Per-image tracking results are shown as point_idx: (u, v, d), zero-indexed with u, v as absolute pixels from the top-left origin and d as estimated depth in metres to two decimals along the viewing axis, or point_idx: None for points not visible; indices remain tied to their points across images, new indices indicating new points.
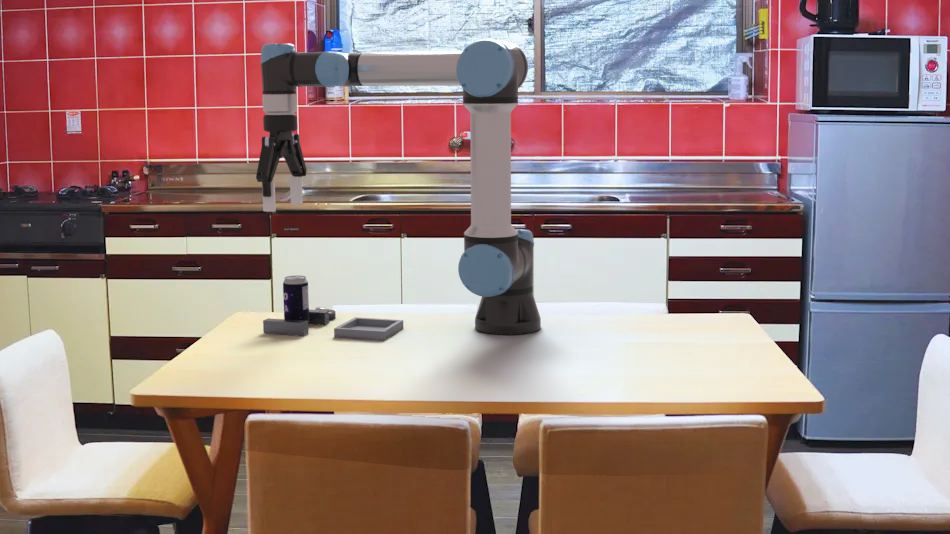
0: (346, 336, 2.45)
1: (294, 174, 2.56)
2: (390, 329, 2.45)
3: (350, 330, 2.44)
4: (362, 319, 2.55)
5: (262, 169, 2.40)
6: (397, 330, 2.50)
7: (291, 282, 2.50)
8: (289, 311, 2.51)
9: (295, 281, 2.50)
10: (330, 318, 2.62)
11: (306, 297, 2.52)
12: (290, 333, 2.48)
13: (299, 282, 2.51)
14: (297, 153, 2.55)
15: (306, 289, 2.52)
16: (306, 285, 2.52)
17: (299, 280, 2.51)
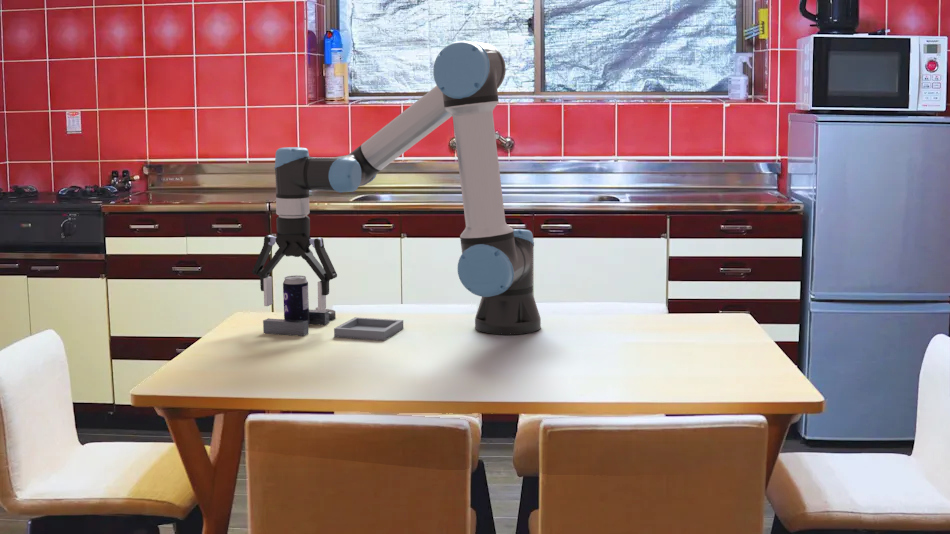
0: (346, 336, 2.45)
1: None
2: (390, 329, 2.45)
3: (350, 330, 2.44)
4: (362, 319, 2.55)
5: None
6: (397, 330, 2.50)
7: (291, 282, 2.50)
8: (289, 311, 2.51)
9: (295, 281, 2.50)
10: (330, 318, 2.62)
11: (306, 297, 2.52)
12: (290, 333, 2.48)
13: (299, 282, 2.51)
14: None
15: (306, 289, 2.52)
16: (306, 285, 2.52)
17: (299, 280, 2.51)
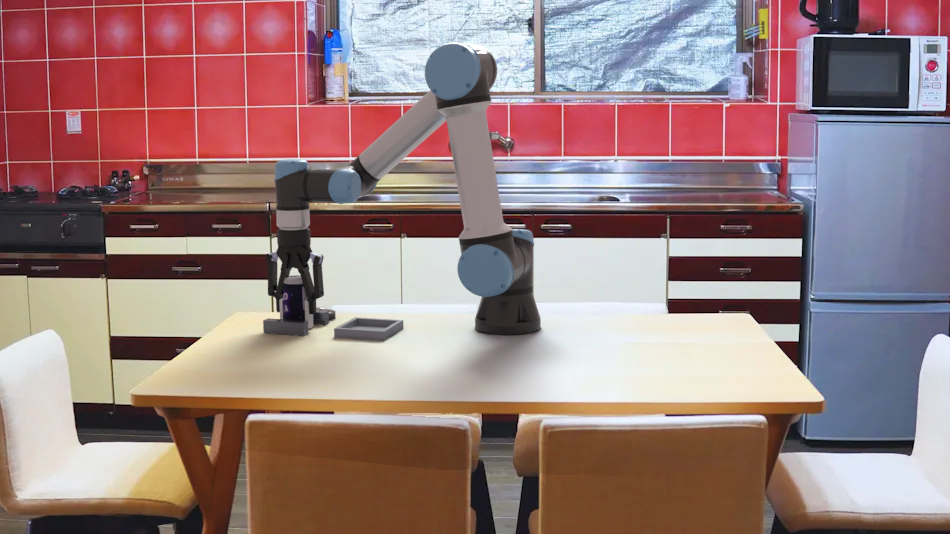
0: (346, 336, 2.45)
1: None
2: (390, 329, 2.45)
3: (350, 330, 2.44)
4: (362, 319, 2.55)
5: None
6: (397, 330, 2.50)
7: (291, 282, 2.50)
8: (289, 311, 2.51)
9: (295, 281, 2.50)
10: (330, 318, 2.62)
11: (306, 297, 2.52)
12: (290, 333, 2.48)
13: (299, 282, 2.51)
14: None
15: None
16: None
17: (299, 280, 2.51)
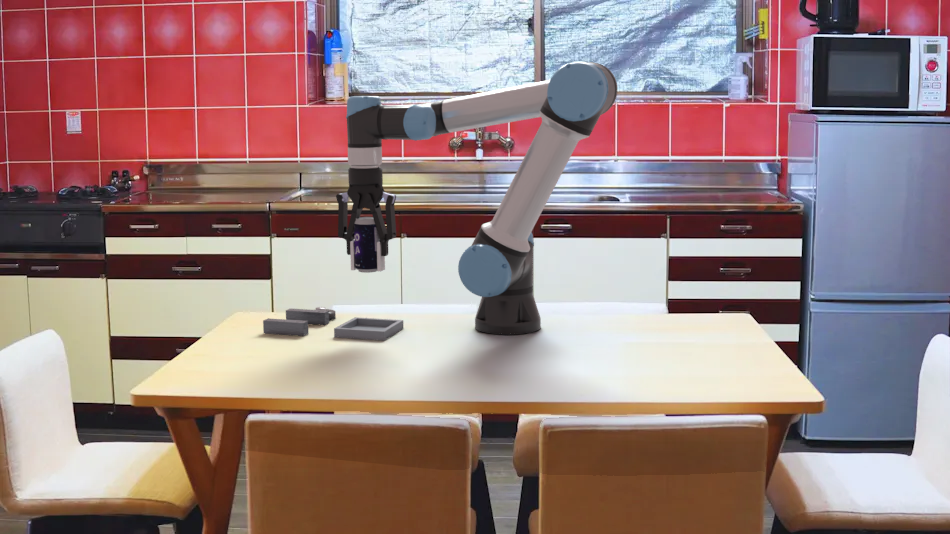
0: (346, 336, 2.45)
1: None
2: (390, 329, 2.45)
3: (350, 330, 2.44)
4: (362, 319, 2.55)
5: None
6: (397, 330, 2.50)
7: (363, 222, 2.43)
8: (361, 252, 2.44)
9: (367, 221, 2.43)
10: (330, 318, 2.62)
11: (378, 238, 2.45)
12: (290, 333, 2.48)
13: (371, 222, 2.43)
14: None
15: None
16: None
17: (371, 220, 2.43)
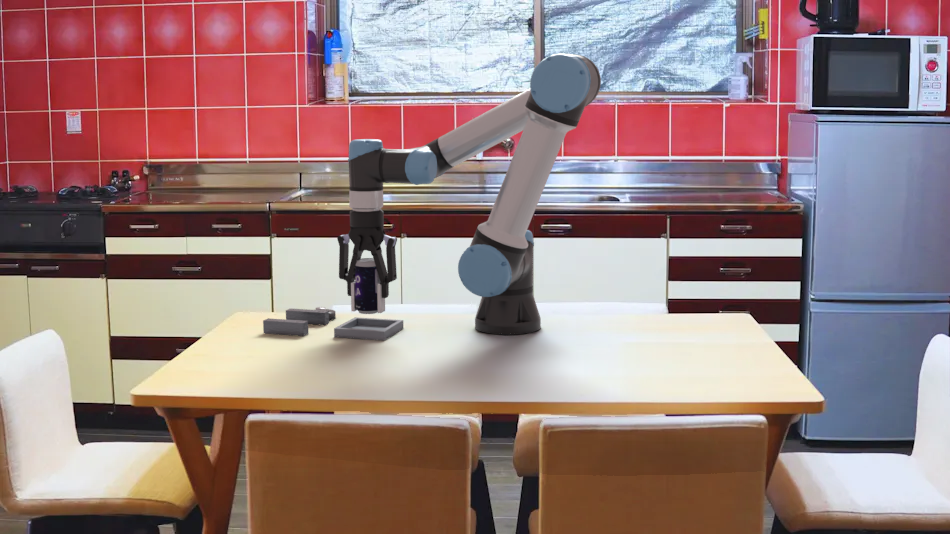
0: (346, 336, 2.45)
1: None
2: (390, 329, 2.45)
3: (350, 330, 2.44)
4: (362, 319, 2.55)
5: None
6: (397, 330, 2.50)
7: (364, 265, 2.44)
8: (362, 294, 2.45)
9: (368, 263, 2.44)
10: (330, 318, 2.62)
11: (378, 280, 2.46)
12: (290, 333, 2.48)
13: (372, 265, 2.45)
14: None
15: None
16: None
17: (372, 262, 2.45)
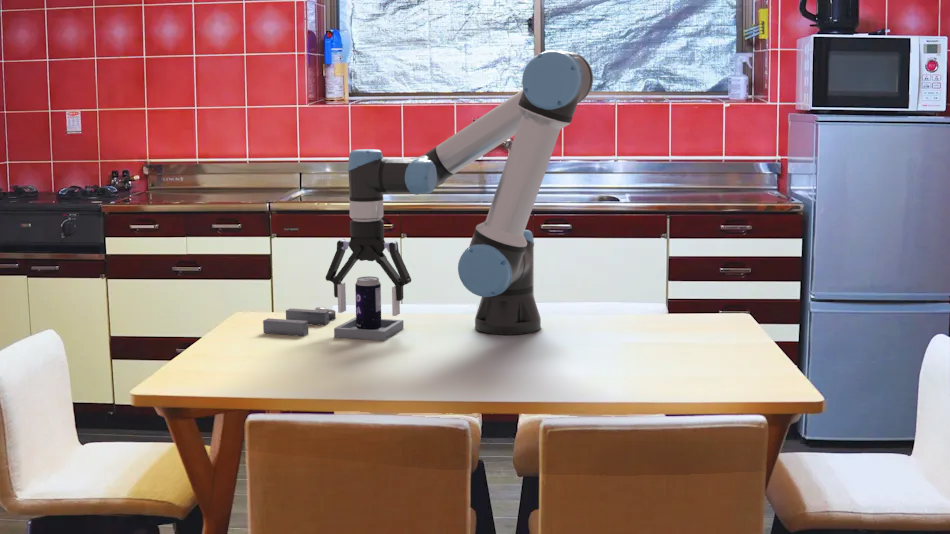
0: (346, 336, 2.45)
1: None
2: (390, 329, 2.45)
3: (350, 330, 2.44)
4: None
5: None
6: (397, 330, 2.50)
7: (364, 284, 2.45)
8: (362, 313, 2.46)
9: (368, 282, 2.45)
10: (330, 318, 2.62)
11: (379, 299, 2.47)
12: (290, 333, 2.48)
13: (372, 284, 2.45)
14: None
15: (379, 291, 2.47)
16: (379, 287, 2.47)
17: (372, 281, 2.45)
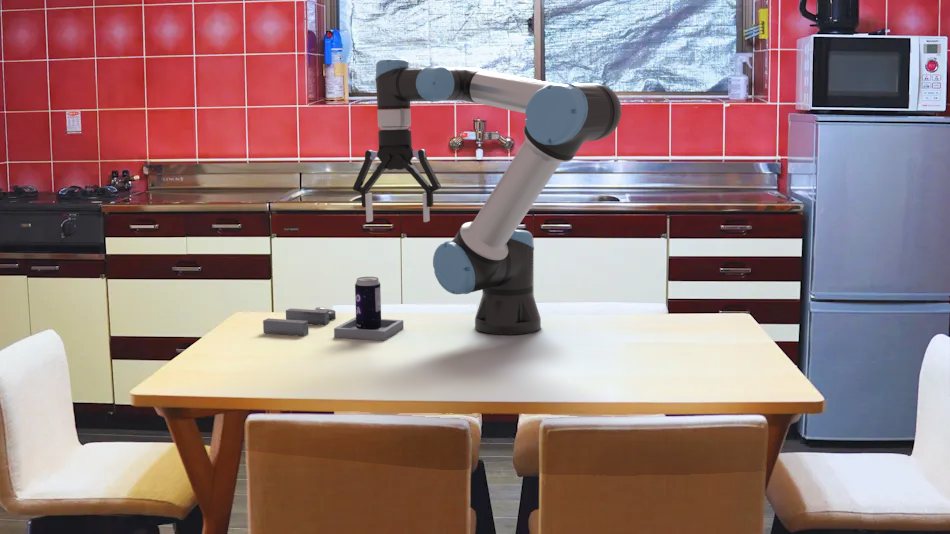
0: (346, 336, 2.45)
1: None
2: (390, 329, 2.45)
3: (350, 330, 2.44)
4: None
5: None
6: (397, 330, 2.50)
7: (364, 284, 2.45)
8: (362, 313, 2.46)
9: (368, 282, 2.45)
10: (330, 318, 2.62)
11: (379, 299, 2.47)
12: (290, 333, 2.48)
13: (372, 283, 2.45)
14: None
15: (379, 291, 2.47)
16: (379, 286, 2.47)
17: (372, 281, 2.45)
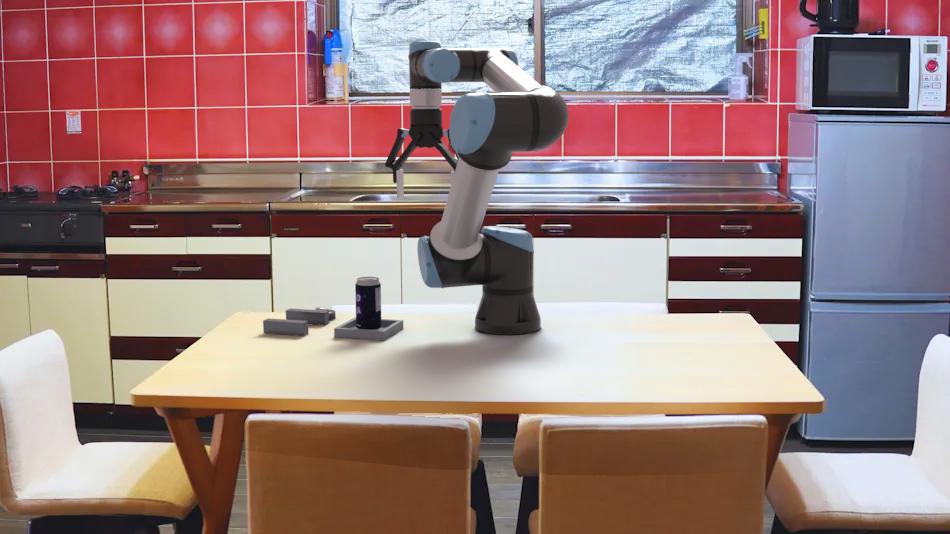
0: (346, 336, 2.45)
1: None
2: (390, 329, 2.45)
3: (350, 330, 2.44)
4: None
5: None
6: (397, 330, 2.50)
7: (364, 283, 2.45)
8: (362, 313, 2.46)
9: (368, 282, 2.45)
10: (330, 318, 2.62)
11: (379, 299, 2.47)
12: (290, 333, 2.48)
13: (372, 283, 2.45)
14: None
15: (379, 291, 2.47)
16: (379, 286, 2.47)
17: (372, 281, 2.46)
